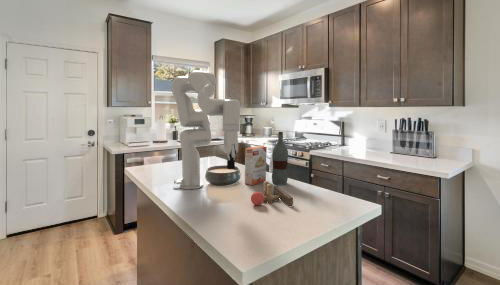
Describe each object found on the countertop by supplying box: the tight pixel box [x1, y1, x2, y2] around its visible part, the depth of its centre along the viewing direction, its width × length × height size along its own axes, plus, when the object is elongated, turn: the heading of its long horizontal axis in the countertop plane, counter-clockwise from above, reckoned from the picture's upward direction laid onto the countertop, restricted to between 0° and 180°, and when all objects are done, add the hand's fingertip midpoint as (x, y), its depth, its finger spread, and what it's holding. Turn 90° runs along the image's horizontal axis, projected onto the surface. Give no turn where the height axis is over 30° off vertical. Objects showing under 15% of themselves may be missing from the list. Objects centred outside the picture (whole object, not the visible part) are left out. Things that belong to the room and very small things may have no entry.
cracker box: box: [244, 145, 268, 186], centre depth 165 cm, size 14×6×21 cm, turn 143°
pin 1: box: [263, 180, 270, 196], centre depth 136 cm, size 2×2×8 cm
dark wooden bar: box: [273, 185, 294, 207], centre depth 135 cm, size 2×20×4 cm, turn 14°
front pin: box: [263, 194, 280, 202], centre depth 134 cm, size 2×2×8 cm
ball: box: [250, 191, 264, 206], centre depth 128 cm, size 6×6×6 cm
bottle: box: [271, 131, 289, 186], centre depth 163 cm, size 9×9×30 cm
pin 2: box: [266, 183, 273, 204], centre depth 131 cm, size 2×2×8 cm
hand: (230, 168), depth 127 cm, fingers closed
